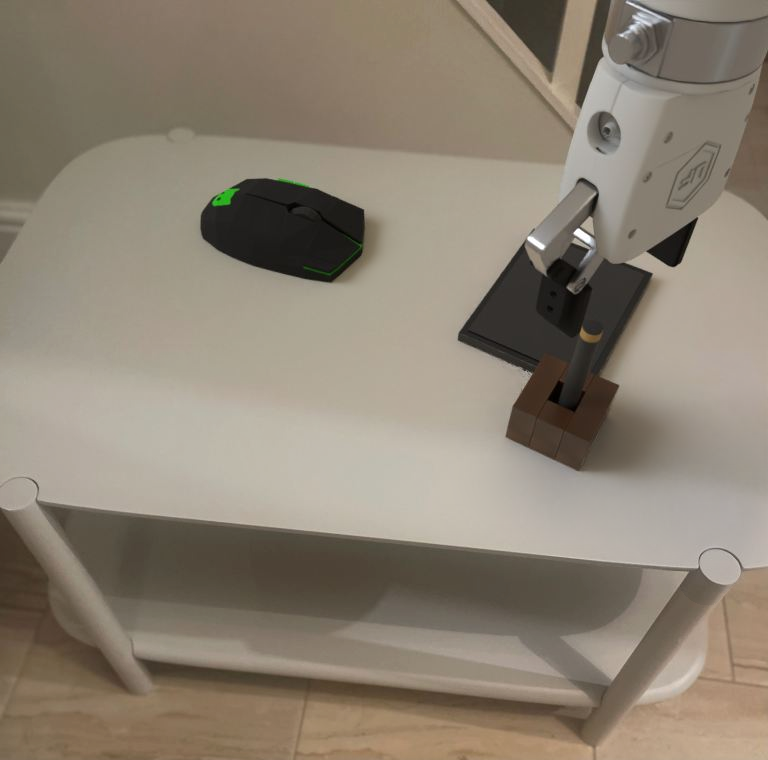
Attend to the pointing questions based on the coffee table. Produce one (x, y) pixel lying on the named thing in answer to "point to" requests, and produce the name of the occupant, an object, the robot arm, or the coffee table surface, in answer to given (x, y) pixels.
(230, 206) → the computer mouse
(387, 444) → the coffee table surface
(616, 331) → the tablet
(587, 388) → the holder
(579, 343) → the stylus
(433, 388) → the coffee table surface
